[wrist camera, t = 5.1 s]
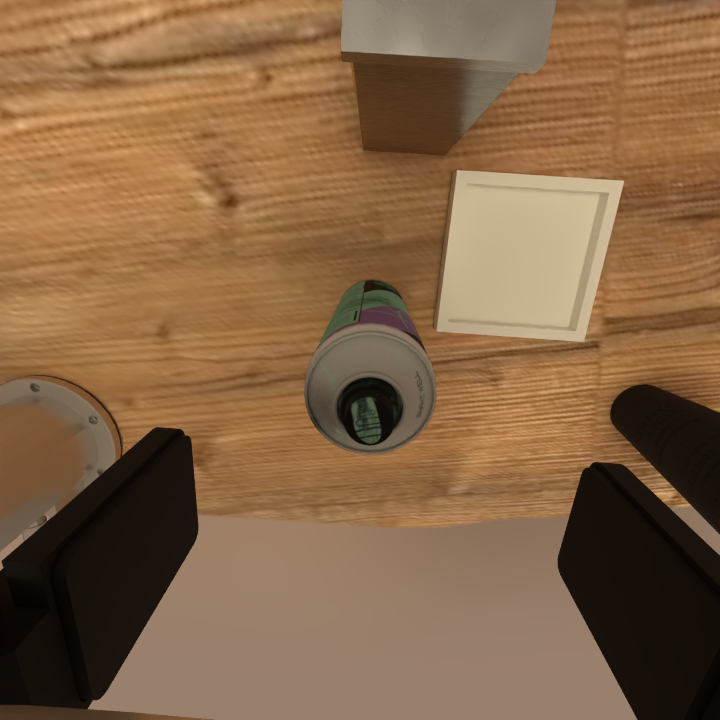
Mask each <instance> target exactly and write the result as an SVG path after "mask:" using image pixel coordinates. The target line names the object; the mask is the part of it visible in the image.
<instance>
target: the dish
mask: <svg viewBox="0 0 720 720" xmlns="http://www.w3.org/2000/svg"><path fill="white" fill-rule="evenodd" d="M623 184H624V181H617V180H601V179H586V178H571V177H555V176H540V175H525V174H509V173H494V172H479V171H463V170H457V171H455V172H454V173H453V174H452V180H451V188H450V196H449V204H448V212H447V220H446V228H445V236H444V244H443V252H442V260H441V268H440V276H439V284H438V292H437V300H436V307H435V315H434V323H433V327H434V328H435V330H436V331H437V332H451V333H465V334H480V335H494V336H508V337H522V338H537V339H551V340H565V341H579V342H584V339H585V335H586V331H587V327H588V323H589V319H590V315H591V311H592V307H593V303H594V299H595V295H596V291H597V287H598V283H599V279H600V275H601V271H602V267H603V263H604V259H605V255H606V251H607V247H608V243H609V239H610V235H611V231H612V227H613V223H614V219H615V216H616V212H617V208H618V204H619V200H620V196H621V192H622V188H623Z"/></svg>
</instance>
